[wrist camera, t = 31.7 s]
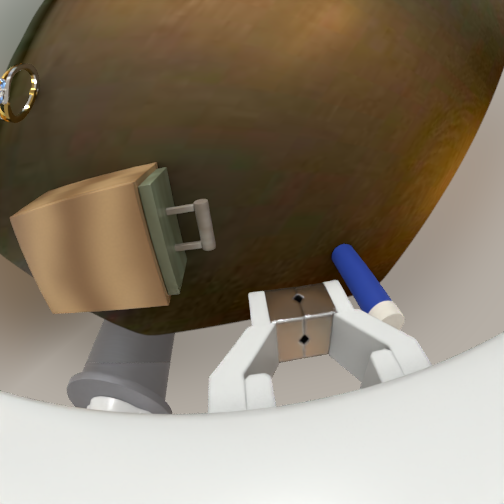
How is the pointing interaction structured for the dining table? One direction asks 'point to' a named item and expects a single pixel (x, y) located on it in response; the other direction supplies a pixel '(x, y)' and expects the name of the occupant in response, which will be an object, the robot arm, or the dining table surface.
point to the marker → (366, 287)
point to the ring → (2, 92)
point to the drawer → (172, 227)
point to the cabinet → (92, 245)
